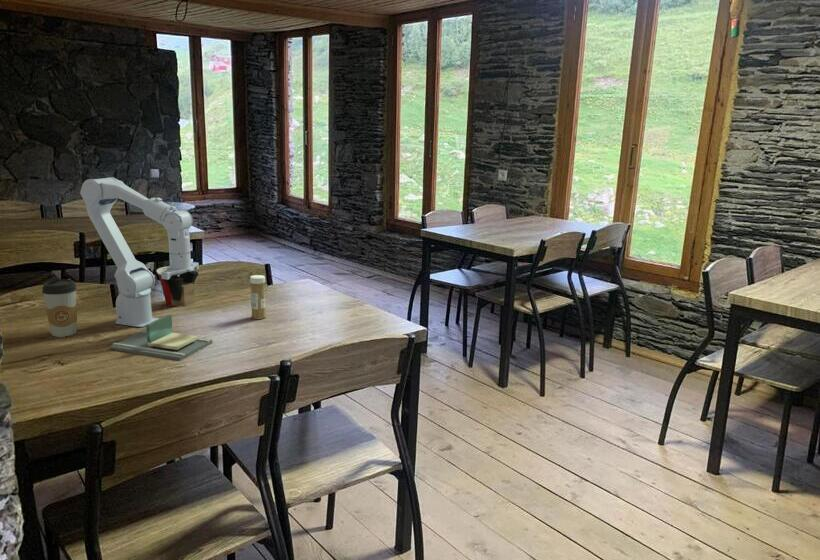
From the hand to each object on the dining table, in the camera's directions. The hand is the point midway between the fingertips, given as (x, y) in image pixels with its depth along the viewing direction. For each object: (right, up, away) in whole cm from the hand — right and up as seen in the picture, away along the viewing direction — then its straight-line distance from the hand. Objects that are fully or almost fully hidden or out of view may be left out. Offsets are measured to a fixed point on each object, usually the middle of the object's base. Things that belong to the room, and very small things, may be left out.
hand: (182, 297), depth 178 cm
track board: (-1, -13, -13) cm, 18 cm away
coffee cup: (-31, -10, -6) cm, 33 cm away
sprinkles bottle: (+19, -7, +14) cm, 25 cm away
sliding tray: (+3, -13, -14) cm, 19 cm away
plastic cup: (-11, -3, +25) cm, 27 cm away
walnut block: (0, -2, 0) cm, 2 cm away
